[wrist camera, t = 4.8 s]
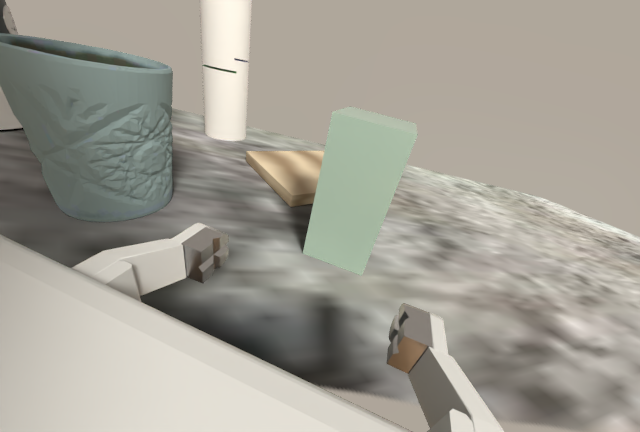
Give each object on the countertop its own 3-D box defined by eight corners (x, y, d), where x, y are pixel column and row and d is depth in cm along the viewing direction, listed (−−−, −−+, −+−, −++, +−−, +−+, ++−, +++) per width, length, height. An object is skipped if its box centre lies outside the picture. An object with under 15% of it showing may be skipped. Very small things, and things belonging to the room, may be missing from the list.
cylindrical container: (253, 139, 47) (264, -38, 35) (219, 142, 42) (217, -65, 30) (231, 128, 51) (233, -38, 38) (197, 129, 45) (186, -62, 33)
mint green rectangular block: (361, 275, 21) (417, 134, 15) (302, 253, 22) (332, 112, 16) (370, 241, 26) (415, 123, 20) (321, 224, 27) (350, 106, 21)
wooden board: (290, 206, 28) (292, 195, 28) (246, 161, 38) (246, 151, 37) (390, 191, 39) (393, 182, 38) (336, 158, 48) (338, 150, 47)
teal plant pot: (63, 177, 25) (10, 30, 19) (178, 174, 30) (167, 58, 24) (32, 237, 18) (-69, 34, 12) (190, 219, 23) (177, 73, 17)
